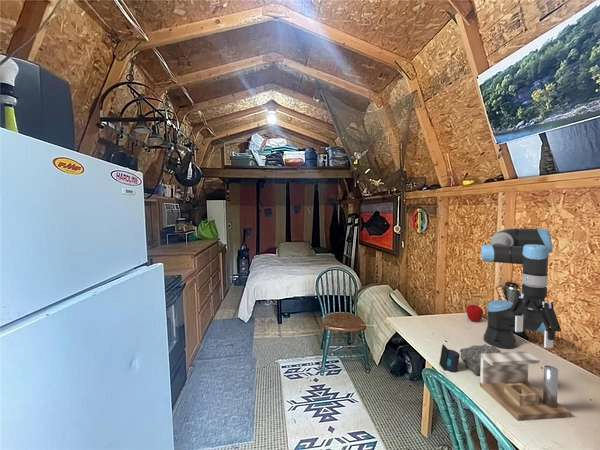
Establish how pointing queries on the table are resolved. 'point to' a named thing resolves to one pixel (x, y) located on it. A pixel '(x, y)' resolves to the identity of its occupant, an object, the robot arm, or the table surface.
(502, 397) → the socket board
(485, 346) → the rock
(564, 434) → the table surface
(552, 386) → the peg
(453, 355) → the speaker
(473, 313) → the apple
